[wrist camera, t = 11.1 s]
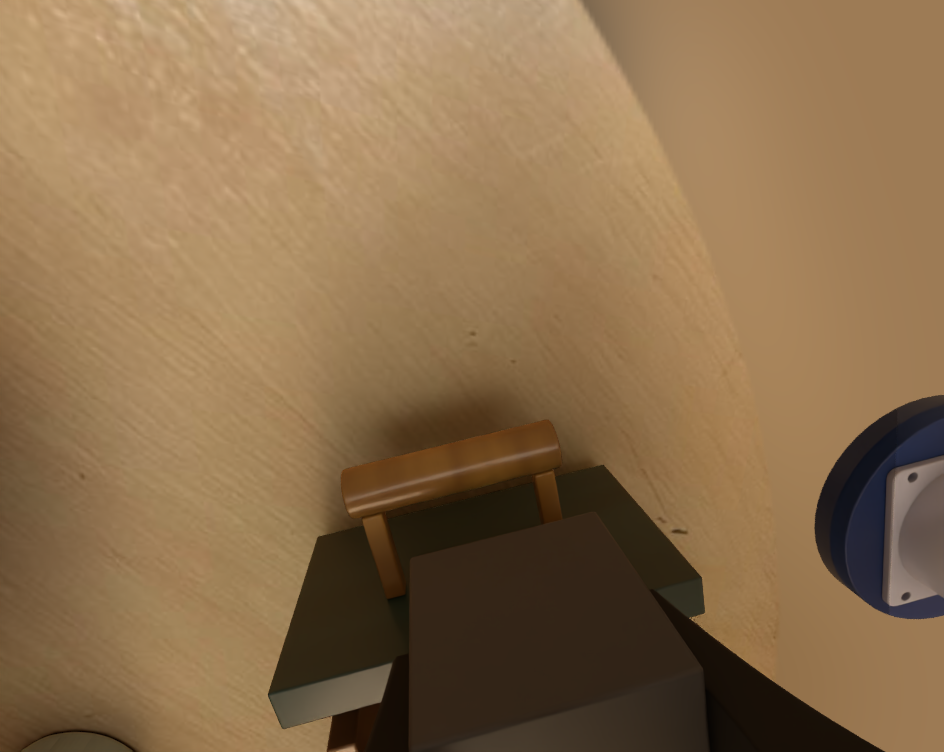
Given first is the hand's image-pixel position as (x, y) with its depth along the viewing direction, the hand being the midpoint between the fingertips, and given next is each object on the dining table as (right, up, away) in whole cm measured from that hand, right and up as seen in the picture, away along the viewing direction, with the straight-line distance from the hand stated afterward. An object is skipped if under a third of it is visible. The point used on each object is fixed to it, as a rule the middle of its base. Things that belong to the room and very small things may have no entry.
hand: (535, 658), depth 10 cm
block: (0, 0, +1) cm, 1 cm away
